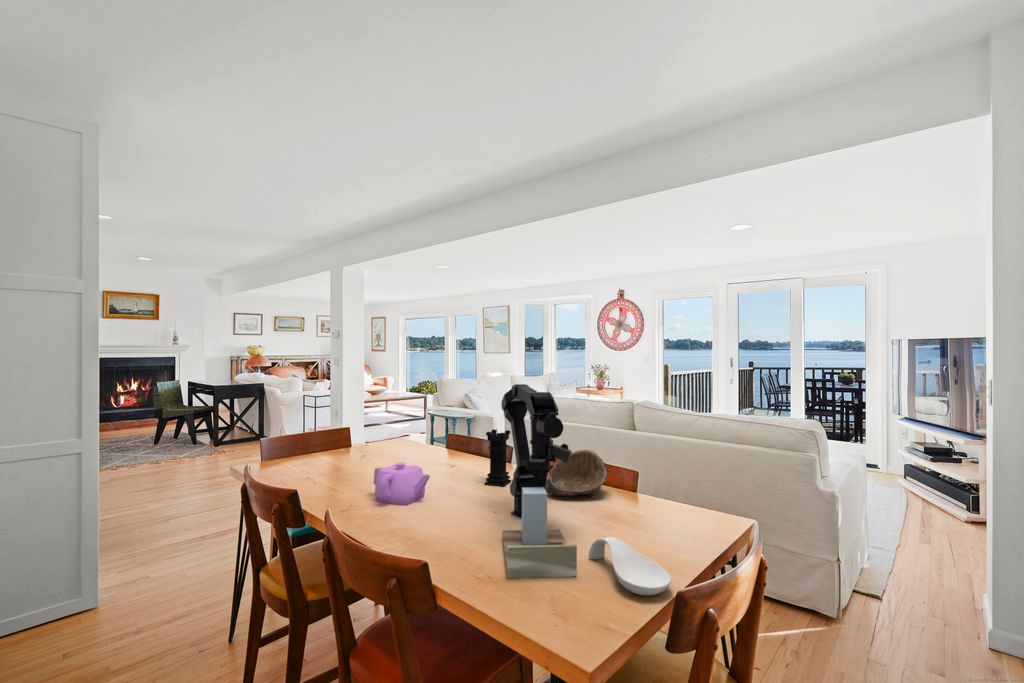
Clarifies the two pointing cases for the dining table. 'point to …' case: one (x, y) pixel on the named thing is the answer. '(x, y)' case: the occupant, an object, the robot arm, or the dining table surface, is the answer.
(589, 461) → the coconut shell half
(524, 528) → the blue block
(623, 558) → the spoon rest
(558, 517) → the dining table surface
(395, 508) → the dining table surface
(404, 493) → the teakettle
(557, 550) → the board
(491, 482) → the chess piece
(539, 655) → the dining table surface
